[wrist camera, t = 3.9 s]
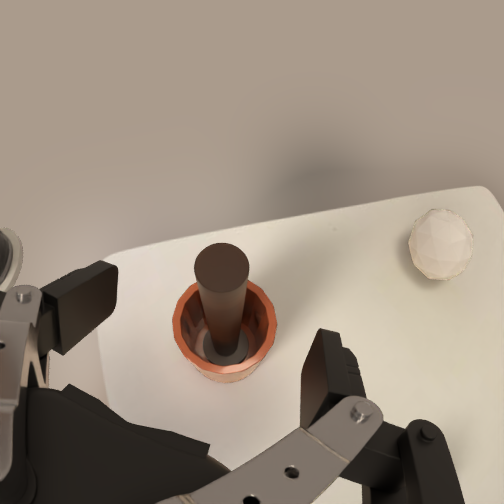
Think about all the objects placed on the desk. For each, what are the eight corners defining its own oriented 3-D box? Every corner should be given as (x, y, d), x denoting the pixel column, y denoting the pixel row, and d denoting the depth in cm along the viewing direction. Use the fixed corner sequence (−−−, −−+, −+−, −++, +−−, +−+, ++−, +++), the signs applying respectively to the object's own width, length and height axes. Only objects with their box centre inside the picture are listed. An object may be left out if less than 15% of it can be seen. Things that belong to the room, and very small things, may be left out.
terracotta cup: (196, 387, 24) (179, 379, 16) (186, 319, 26) (168, 281, 18) (267, 376, 24) (286, 363, 17) (254, 310, 27) (265, 268, 19)
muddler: (207, 371, 24) (174, 323, 10) (200, 329, 25) (167, 229, 11) (251, 364, 24) (284, 308, 10) (243, 323, 26) (262, 217, 12)
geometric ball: (413, 285, 33) (425, 293, 25) (397, 221, 33) (406, 212, 26) (466, 269, 30) (489, 273, 23) (451, 206, 31) (471, 194, 23)
